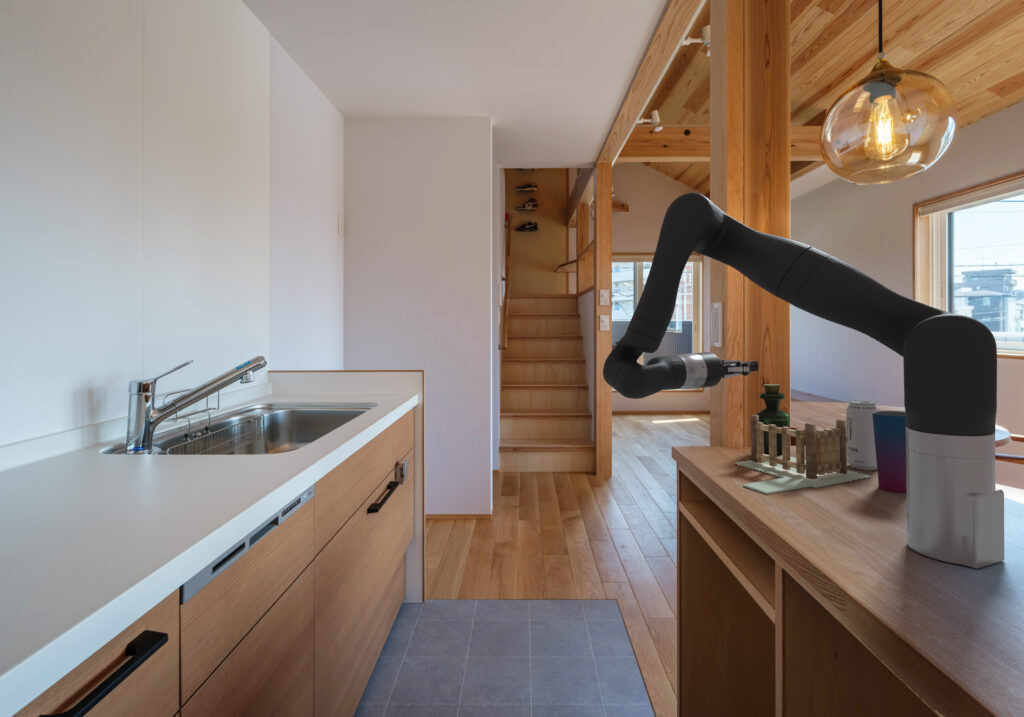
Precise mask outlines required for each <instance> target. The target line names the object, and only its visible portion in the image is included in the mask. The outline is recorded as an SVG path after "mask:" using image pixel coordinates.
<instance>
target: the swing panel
mask: <svg viewBox="0 0 1024 717" xmlns="http://www.w3.org/2000/svg"><path fill="white" fill-rule="evenodd" d="M749 416H750V417H749V418H750V419H749V420H750V421H749V422H750V460H751V461H753V462H758V463H764V460H765V461H769V465H770V466H773V467H775V466H777V464H781V465H782V466H783V469H785V470H791V467H792V468H796V469H797V473H799V474H805V470H806V464H805V460H806V452H805V429H800V428H796V429H791V426H790V427H782V428H781V427H776V425H773V424H770V425H764V424H763V423H762V422H759V415H756V414H750V415H749ZM764 431H768V432H769V455H767V454H764ZM776 433H779V434H782V458H779V457H777V438H776ZM791 437H795V453H796V454H795V458H796V462H795V461H791V460H790V456H791Z"/></svg>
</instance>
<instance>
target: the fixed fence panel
mask: <svg viewBox="0 0 1024 717" xmlns="http://www.w3.org/2000/svg"><path fill="white" fill-rule="evenodd" d="M835 424H836V425H835V426H836V427H831V428H823V429H817V424H816V423H812V422H805V423H804V432H805V438H804V449H805V460H806V478H808V479H817V474H818V475H825V473H827V474H831V473H833V472H836V473H837V472H838V473H842V474H847V470H848V464H847V463H848V462H847V419H842V418H841V419H839V418H838V419H836V420H835Z"/></svg>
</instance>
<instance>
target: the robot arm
mask: <svg viewBox="0 0 1024 717" xmlns="http://www.w3.org/2000/svg"><path fill="white" fill-rule="evenodd" d="M693 253H696V254H700V255H702V256H704V257H707V258H710V259H713V260H715V261H717V262H719V263H722V264H725V265H727V266H729V267H730V268H732V269H734V270H736V271H738V272H739V273H741V274H742V275H743V276H744V277H746V279H749V281H751V282H752V283H753V284H755V285H757V286H759V287H760V288H761V289H763V290H765V291H766V292H768V293H769V294H771V295H773V296H775V297H776V298H778V299H780V300H782V301H784V302H786V303H788V304H790V305H792V306H794V307H795V308H797V309H799V310H802V311H804V312H806V313H808V314H810V315H813V316H815V317H818V318H821V319H822V320H823V319H824V320H826V321H829V322H831V323H834V324H837V325H840V326H843V327H845V328H849V329H851V330H854V331H857V332H860V333H862V334H864V335H866V336H867V337H870V338H871V339H872V340H875V341H876V342H879V343H880V344H881V345H883V346H885V347H886V348H888V349H890V350H892V351H893V352H894V353H896V354H898V355H899V356H901V357H903V358H902V360H903V363H902V364H903V398H904V399H903V402H904V403H903V404H904V412H905V416H906V493H905V495H906V544H907V545H908V548H910V549H912V550H913V551H915V552H916V553H919V554H921V555H923V556H926V557H928V558H931V559H935V560H938V561H941V562H944V563H945V562H947V563H950V564H957V565H963V566H966V567H970V568H972V569H980V568H981V569H982V568H984V567H987V566H991V565H995V564H997V563H1000V562H1004V561H1005V492H1004V490H1002V489H1001V488H996V418H997V413H998V412H997V409H998V400H997V399H998V398H997V397H998V349H997V341H996V338H995V336H994V334H993V332H992V331H991V330H990V329H989V328H988V327H987V326H986V325H985V324H984V323H982V322H981V321H979V320H978V319H975V318H973V317H971V316H967V315H963V314H957V313H952V312H948V311H946V310H942V309H939V308H937V307H935V306H932V305H928V304H925V303H923V302H921V301H917V300H915V299H912V298H909V297H908V296H905V295H903V294H900V293H899V292H897V291H894V290H892V289H890V288H889V287H887V286H885V285H883V284H882V283H881V282H879V281H878V280H876V279H874V278H873V277H871V276H869V275H868V274H866V273H864V272H863V271H861V270H859V269H858V268H856V267H855V266H852V265H851V264H849V263H848V262H845V261H843V260H841V259H839V258H838V257H836V256H833V255H831V254H829V253H827V252H824V251H823V250H820V249H818V248H816V247H813V246H812V245H808V244H805V243H802V242H800V241H796V240H793V239H791V238H786V237H782V236H779V235H774V234H769V233H765V232H762V231H759V230H756V229H753V228H752V227H749V226H747V225H746V224H744V223H743V222H741V221H739V220H737V219H735V218H734V217H732V216H730V215H729V214H727V213H726V212H725V211H723V210H722V209H721V208H720V207H718V206H717V205H716V204H715V203H714V202H713V201H711V200H710V199H709V198H708V197H707V196H705V195H703V194H702V193H698V192H687V193H683V194H682V195H679V196H678V197H677V198H675V199H674V200H673V201H672V202H671V203H670V205H669V206H668V208H667V209H666V211H665V214H664V217H663V220H662V224H661V227H660V231H659V235H658V239H657V244H656V248H655V251H654V254H653V259H652V262H651V265H650V269H649V272H648V275H647V279H646V281H645V284H644V288H643V291H641V292H642V293H641V295H640V298H639V300H638V303H637V305H636V308H635V309H634V312H633V315H632V317H631V319H630V322H629V323H628V327H627V328H626V330H625V333H624V335H622V337H621V338H620V339H619V340H618V342H617V343H616V345H615V346H614V347H613V348H612V350H611V352H610V353H609V354H608V356H607V357H606V359H605V360H604V364H603V369H602V376H603V379H604V381H605V383H606V384H607V385H609V386H610V387H611V388H613V389H614V390H615V391H616V392H618V393H619V394H620V395H621V396H623V397H624V398H627V399H630V400H631V399H632V400H633V399H634V400H639V399H645V398H647V397H649V396H652V395H654V394H657V393H660V392H661V391H670V390H692V389H693V390H694V389H706V388H713V387H716V386H717V385H718V384H719V383H720V382H721V380H722V379H730V378H731V377H739V376H740V375H741V376H744V377H746V376H749V375H751V374H752V372H758V371H759V370H760V366H759V365H760V364H759V363H760V362H759V361H758V360H750V361H749V360H747V361H745V360H741V361H740V359H720V358H719V357H718V355H716V354H715V353H713V352H709V351H708V352H706V351H705V352H691V353H680V354H675V355H663V356H657V357H652V358H651V359H649V360H648V361H647V362H646V364H645V365H644V364H640V363H639V362H638V360H639V359H640V357H641V356H642V355H643V353H647V354H653V353H655V352H656V351H658V349H659V347H660V346H661V343H662V342H663V340H664V337H665V335H666V333H667V330H668V329H669V326H670V323H671V321H672V318H673V315H674V312H675V310H676V304H677V298H678V293H679V288H680V283H681V279H682V275H683V272H684V270H685V268H686V264H688V261H689V259H690V256H692V254H693Z"/></svg>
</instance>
